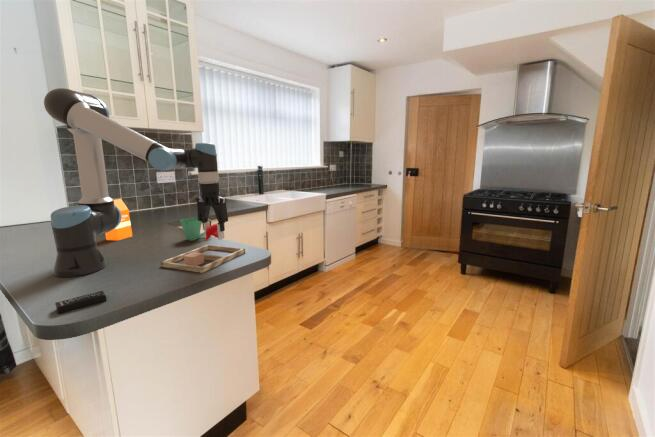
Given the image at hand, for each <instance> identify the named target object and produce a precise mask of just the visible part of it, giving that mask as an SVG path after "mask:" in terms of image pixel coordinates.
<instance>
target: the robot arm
mask: <svg viewBox="0 0 655 437" xmlns="http://www.w3.org/2000/svg"><path fill="white" fill-rule="evenodd" d="M43 105H44V109H45V111H46V112H47V114H48V115H49V117H52V118H53V119H54V120H55V121H57V122H60V123H61V124H64V125H66V129H67V130H68V131H69V132H70V133H71V134H72V137H73V142H74V148H75V157H76V162H77V168H78V169H77V170H78V178H79V182H80V183H79V184H80V191H81V198H80V199H79V200H78V202H77V204H78V205H71V206H68V207H67V206H65V207H64V206H63V207H61V208H58V209H55V210H54V211H53V212H51V213H50V226H51V228H52V234H53V238H54V243H55V248H56V259H55V263H54V267H53V271H54V275H55V277H59V278H71V277H78V276H85V275H88V274H92V273H95V272H97V271H100V270H103V269H104V268H106V265H107V263H106V259H105V257H104V255H103V254H102V253H101V250H100V249H99V247H98V245H97V244H98V243H97V239H96V237H97V236H100V235H103V234H105V233H107V232H110V231H111V230H113V229H115V228H116V227H117V226H118V225H119V224H120V222H121V218H122V215H121V211H120V209H119V208H117V206H116V205H114V200H115V199H114V198H112V197H111V196H109V189H108V188H109V187H108V180H107V172H106V164H105V156H104V150H103V141H106V142H107V143H109V144H111V145H113V146H115V147H117V148H119V149H121V150H123V151H126V152H127V153H129V154H132V155H134V156H136V157H138V158H140V159H142V160H144V161H146V162H148V163H149V164H150V165H151V167H153V168H154V169H156V170H158V171H171V170H179V169H197V174H198V182H199V186H198V187H199V192H200V193H201V196H198V197H197V196H196V197H195V200H196V201H195V202H196V207H197V208H196V209H197V218H198V221H201V222H202V223H201V224H202V230H203V232H205V234H204V238H205V239H206V231H207V229H208V228H209V227H210V222H209V220H208V219H210V218H209V216H210V212H211V211H210V210H211V208H212V209H213V211H214V214H215V217H216V219H217V223H216V224H217V229H218V238H217V239H218V240H219V241H220V240H221V241H222V239H223V240H224V239H225V230H226V229H225V223H227V222H229V216H228V215H229V214H228V210H227V198H226V197H222V196H221V195H220V191H221V189H220V188H221V187H220V183H219V181H220V179H219V178H220V177H219V170H218V155H217V150H216V145H215V144H214V143H213V142H200V143H199V142H197V143H195V144H194V148H169V147H167V146H165V145H163V144H161V143H158V142H157V141H156V140H153V139H151V138H149V137H147V136H145V135H143V134H141V133H139V132H137V131H135V130H134V129H131V128H129V127H127V126H126V125H124V124H121V123H119V122H117V121H116V120H113V119H111V118H110V112H109V109H108V107H107V104H105V102H103V101H102V100H101V99H100V98H98V97H96V96H94V95H92V94H88V93H83V92H80V91H76V90H72V89H69V88H63V87H61V88H60V87H59V88H55V89H51V90H50V91H48V92H47V93H46V95H45V96H44V100H43ZM102 140H103V141H102ZM211 237H212V235H211V236H210V238H211Z"/></svg>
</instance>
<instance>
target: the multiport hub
mask: <svg viewBox="0 0 655 437" xmlns="http://www.w3.org/2000/svg"><path fill="white" fill-rule="evenodd" d="M107 301H108V299H107V294H106V293H105V291H104V290H100V291H96V292H91V293H88V294H84V295H80V296H76V297H73V298H69V299H65V300H61V301H58V302H55V307H56V312H57V314H58V315H62V314H65V313H69V312H72V310H73V311H75V310H80V309H83V308H87V307H91V306H94V305H97V304H98V305H99V304H102V303H104V302H107Z"/></svg>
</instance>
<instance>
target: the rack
mask: <svg viewBox="0 0 655 437" xmlns="http://www.w3.org/2000/svg"><path fill="white" fill-rule="evenodd" d="M208 250H211V251H212V250H213V251H222V252H228V253H229V252H231V253H229V254H227V255H225V256H220V255H212V254H204V253H203V252H205V251H208ZM192 252H197V253H203V255H204V261H212V262H210V263H207V264H204V265H202V266H200V265H198V266H192V265H185V264H184V263H177V262H179V261H181V260H184V257H183V256H184V255H187V254H189V253H192ZM243 254H246V248H245V247H235V246H225V245H224V246H223V245H217V244H205V245H203V246H201V247H197V248H195V249H192V250H190V251H187V252H184V253H182V254H179V255H176V256H173V257H171V258H170V257H169V258H168V259H166V260H165V259H164V260H163V261H160V267H162V268H168V269H173V270H174V269H175V270H180V271H187V272H188V271H189V272H193V273H194V272H195V273H202V274H203V273H205V272H208V271H209V270H212V269H214V268H216V267H218V266H220V265H222V264H224V263H226V262H229V261H230V260H233V259H235V258H237V257H239V256H241V255H243Z"/></svg>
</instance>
